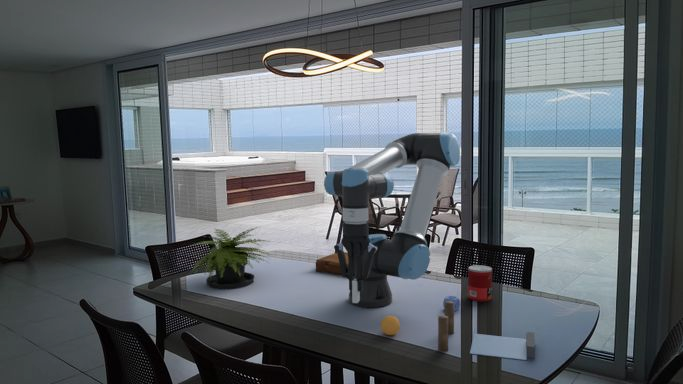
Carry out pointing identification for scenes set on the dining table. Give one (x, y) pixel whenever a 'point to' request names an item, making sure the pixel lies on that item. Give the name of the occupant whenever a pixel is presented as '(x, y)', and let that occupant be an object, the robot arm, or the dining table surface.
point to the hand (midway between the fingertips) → (356, 301)
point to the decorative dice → (453, 299)
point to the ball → (390, 325)
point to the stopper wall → (530, 345)
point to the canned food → (480, 283)
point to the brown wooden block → (330, 264)
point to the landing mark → (499, 346)
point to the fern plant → (229, 261)
